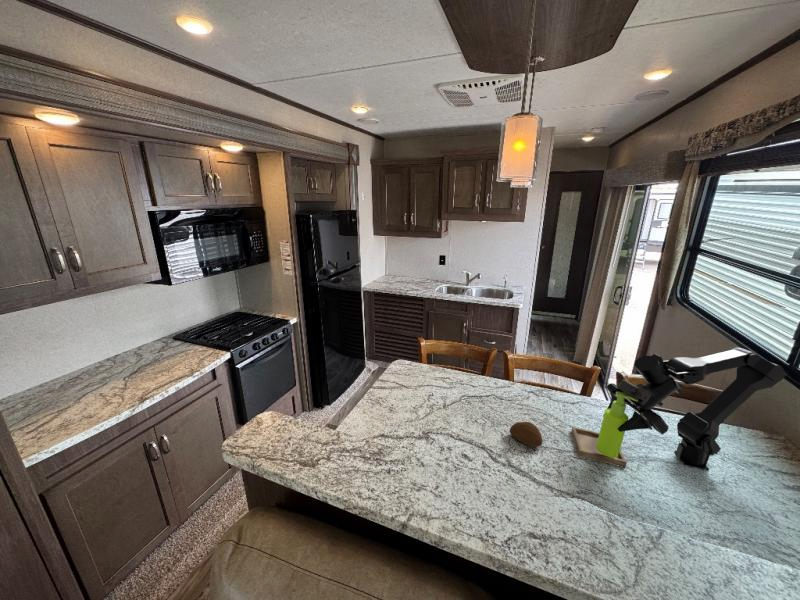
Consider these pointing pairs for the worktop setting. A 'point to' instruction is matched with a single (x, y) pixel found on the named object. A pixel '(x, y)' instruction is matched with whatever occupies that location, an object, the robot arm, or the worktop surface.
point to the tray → (593, 447)
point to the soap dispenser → (613, 427)
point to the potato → (526, 434)
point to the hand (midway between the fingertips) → (611, 423)
